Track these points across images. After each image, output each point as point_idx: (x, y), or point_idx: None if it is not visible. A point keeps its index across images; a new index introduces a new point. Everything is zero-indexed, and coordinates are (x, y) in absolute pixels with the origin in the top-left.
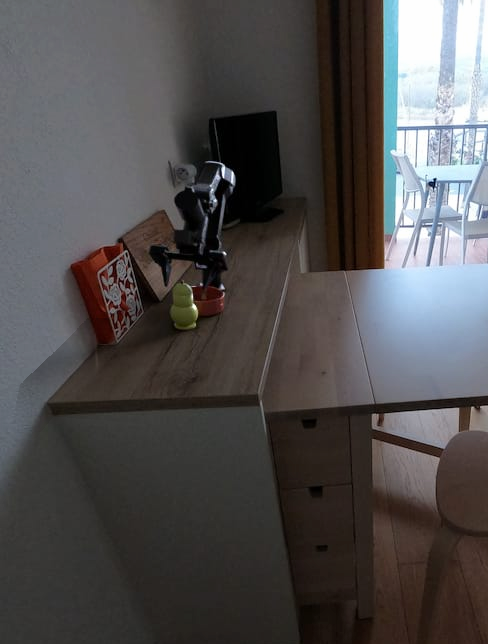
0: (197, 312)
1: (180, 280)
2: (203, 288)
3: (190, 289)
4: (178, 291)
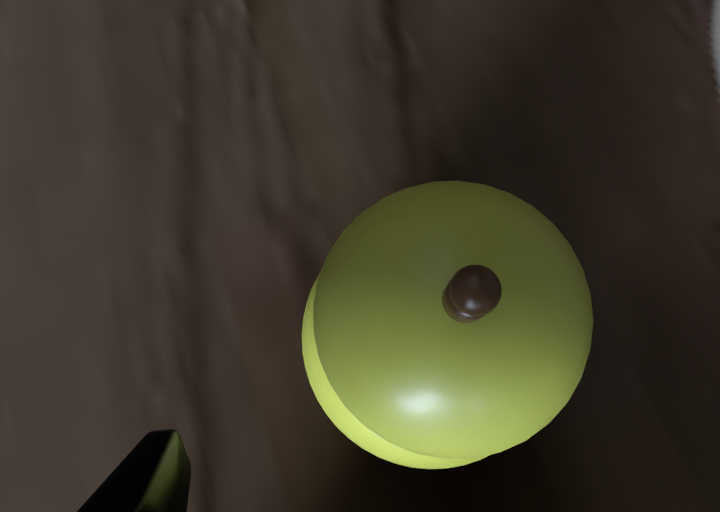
0: (302, 350)
1: (492, 275)
2: (151, 432)
3: (322, 308)
4: (459, 181)
